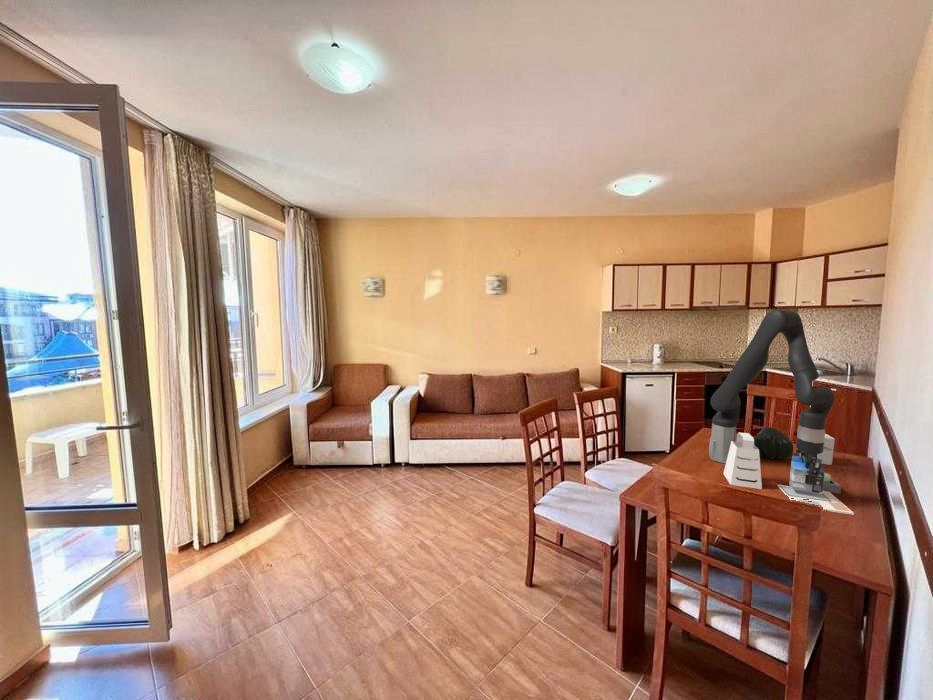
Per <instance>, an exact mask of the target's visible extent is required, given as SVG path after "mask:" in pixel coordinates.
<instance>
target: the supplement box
mask: <svg viewBox="0 0 933 700" xmlns="http://www.w3.org/2000/svg"><path fill="white" fill-rule="evenodd" d="M835 441H836V440H835V438H834V437H832V436H831V435H829V434H827V433H825V439H824V448H823V453H821V454H817V458H818V459H821V460H822V463H821V464H822V465H828V466H829V465H830V466H831V465H833V457H834V449H835V448H834V447H835Z"/></svg>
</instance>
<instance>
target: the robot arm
mask: <svg viewBox="0 0 933 700" xmlns="http://www.w3.org/2000/svg"><path fill="white" fill-rule="evenodd" d="M779 334H782V335H783V336H784V338H785V339H786V341H787V344H788V353H787V354H788V355H787V361H788V365H789V368H790V371H791V373H792V375H793V378H794V393H795V398H796V399H797V401H798V402H799V403H800V404H801V405H804V406H810V407H809V408H808V409H805V410H802V411H801V412H800V415H799V423H798V427H797V430H796V431H797V433H796V434H797V435H796V443H795V447H796V450H795V453H796V455H795V456H800V463H804V468H806V476H805V483H806V484H809V485H813V481H814V476H818V475H819V472H820V469H821V466H823V464H821V463H818V458H817V454H821V453H823V448H824V439H825V434H826V431H825V430H826V429H825V428H826V422H827V421H826V420H827V417H828V415H829V413H830V412H831V409H832V407H833V405H834V402H835V394H834V391H832V389H830V388H829V387H828V386H827V387H826V386H819V385H818V386H817V385H815V386H813V384H812V382H813V381H816V380H818V379H819V377H820V375H819V372H818V370H817V367H816V364H815V363H814V360H813V358H812V356H811V353H810V351H809V350H810V349H809V347H808V343H807V339H806V334H805V329H804V325H803V321H802V317H801V316H800V315H799V313H797V312H796V311H792V310H785V309H773V310H770V311H769V312H767V314H766V315H764V316H763V319H762V321H761V322H760V324H759V326H758V328H757V330H756V332H755V334H754V335H753V337H752V339H751V341H749V344H747V346H746V347H745V348H746V349H744V351H743V353H742V354H741V355H740V356H739V358H738V360H737V361H736V362H735V364H734V366H733V367H732V369H731V371H730V372H729V373H728V375H727V376H726V379H724V381H723V383H722V384H721V385H720V386H719V387H718V388H717V389H716V390H715V392H714V393H713V394H712V395H711V398H710V405H711V408H712V409H713V410H715V411H717V412H716V413H715V415H713V417H712V421H711V423H712V424H711V435H710V436H709V445H708V446H709V448H708V457H709V458H710V460H711V461H713V462H714V461H715V462H716V463H717V462H718V463H721V464H726V461H727V457H728V453H729V449H730V445H731V441H736V436H737V424H738V421H739V418H740V415H741V413H740V412H741V404H742V403H741V402H742V401H741V398H740V395H739V393H740V392H741V391H742V390H743V389H744V388H745V387H746V386H748V385H749V384H750V383H751V382H753V380H755V379H756V378H757V377H758V376H759V375H760V374H761V372H762V371H763V369H764V368H765V366H767V363H768V360H769V353H770V351H769V350H770V347H771V344H772V342H773V341H774V339H775V338H776V337H777V335H779ZM807 465H810V466H807Z"/></svg>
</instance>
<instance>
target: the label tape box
mask: <svg viewBox="0 0 933 700" xmlns="http://www.w3.org/2000/svg"><path fill="white" fill-rule="evenodd" d="M791 456H792V457H791V462H790V473H789V485H788V486H791V488H792V489H797V490H803V491H809V492H815V493H821V494H822V491H823V483H824V475H825V473H826V472H825V471H824V469H823V467H822V466H823V465H822V466H821V469H820V472H819V475H818V476H814V481H813V485H809V484H806V483H805V476H806V468H804V463H800V456H796V455H791ZM818 463H822V460H821V459H818ZM807 466H810V465H807ZM824 472H825V473H824Z"/></svg>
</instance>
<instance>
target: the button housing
mask: <svg viewBox="0 0 933 700" xmlns="http://www.w3.org/2000/svg"><path fill="white" fill-rule="evenodd" d="M823 491H829V492H830V493H835V494H841V493H842V485H841V484H840V483H838V482H837V481H835V479H833V478H832V477H831V480H830V483H823Z"/></svg>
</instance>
